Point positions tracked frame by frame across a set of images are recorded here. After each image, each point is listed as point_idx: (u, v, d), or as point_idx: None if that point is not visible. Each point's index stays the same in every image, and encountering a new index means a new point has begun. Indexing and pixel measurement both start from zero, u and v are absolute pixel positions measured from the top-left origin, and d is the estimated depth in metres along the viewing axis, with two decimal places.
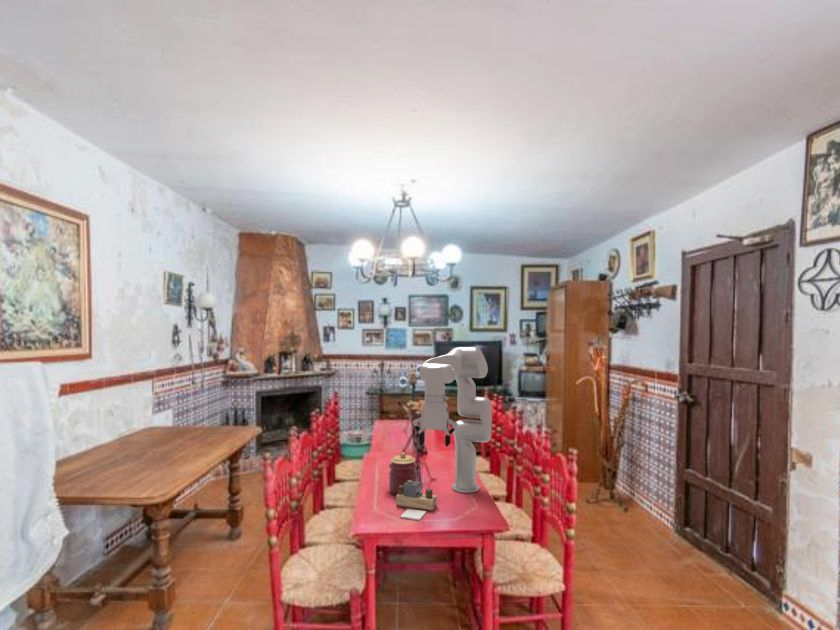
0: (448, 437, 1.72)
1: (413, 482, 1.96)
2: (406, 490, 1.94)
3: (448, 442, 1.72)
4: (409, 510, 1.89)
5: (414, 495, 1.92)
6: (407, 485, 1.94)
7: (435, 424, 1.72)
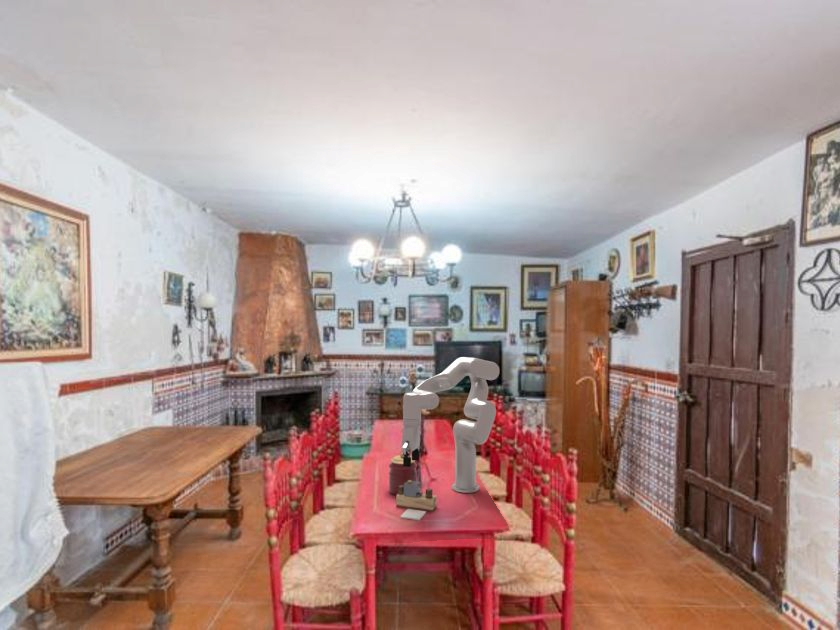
0: None
1: (413, 482, 1.96)
2: (406, 490, 1.94)
3: None
4: (409, 510, 1.89)
5: (414, 495, 1.92)
6: (407, 485, 1.94)
7: (417, 444, 1.96)
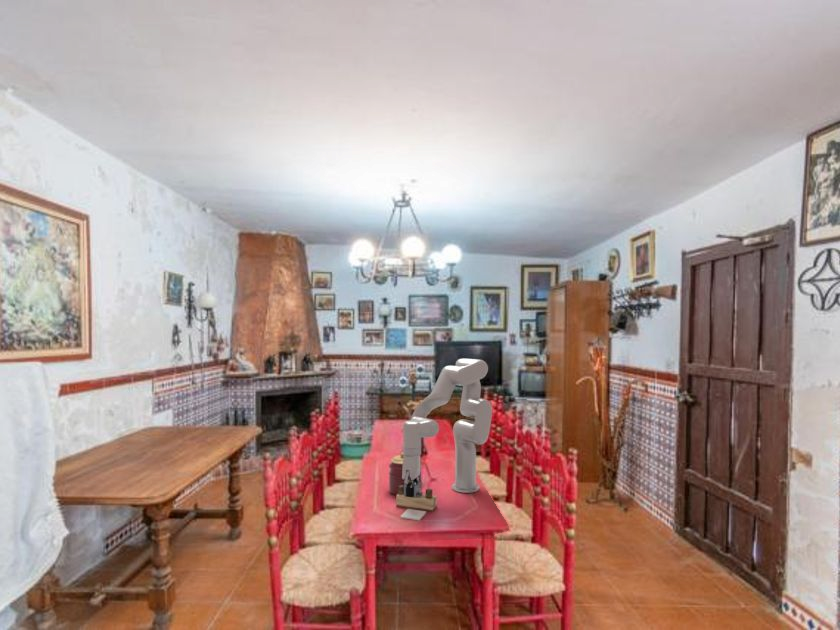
0: None
1: (413, 482, 1.96)
2: None
3: None
4: (409, 510, 1.89)
5: (414, 495, 1.92)
6: None
7: (417, 472, 1.96)
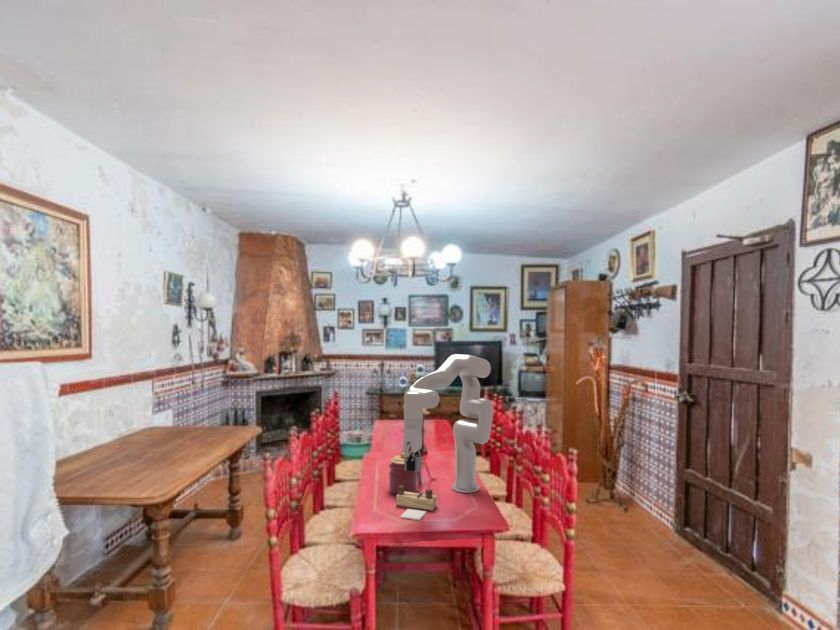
0: None
1: (414, 456, 1.86)
2: None
3: None
4: (409, 510, 1.89)
5: (415, 469, 1.83)
6: None
7: (419, 445, 1.86)
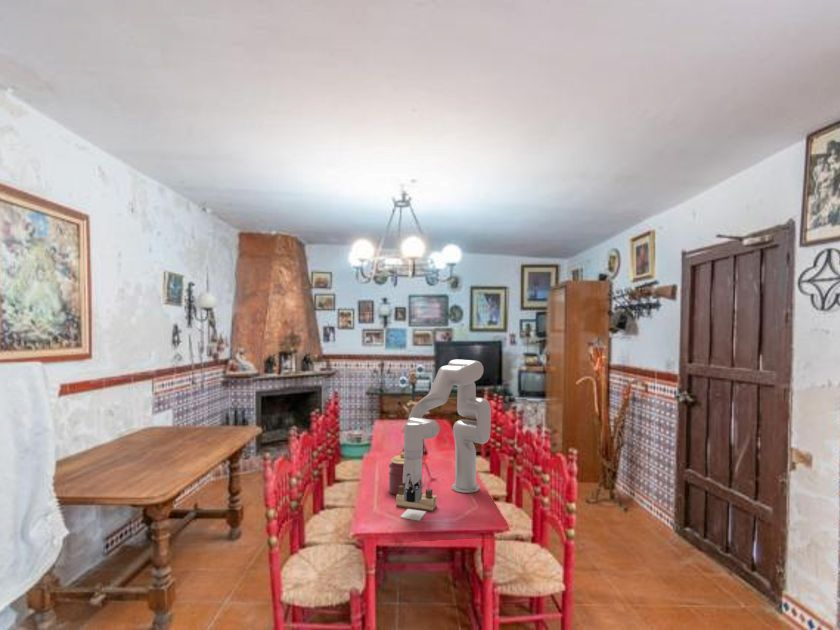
0: None
1: (414, 486, 1.86)
2: None
3: None
4: (409, 510, 1.89)
5: (415, 500, 1.82)
6: None
7: (419, 476, 1.86)
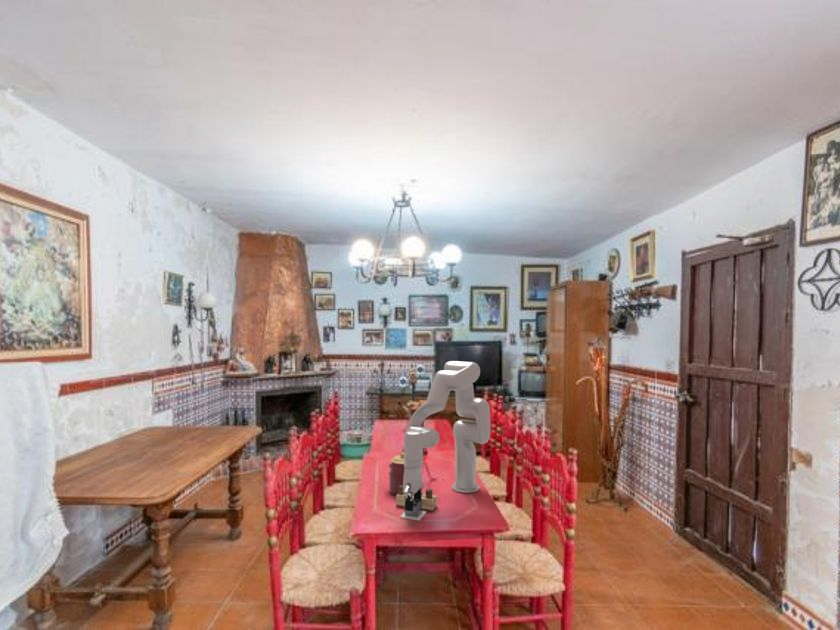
0: None
1: (414, 500, 1.86)
2: None
3: None
4: None
5: (415, 514, 1.83)
6: None
7: (419, 485, 1.86)
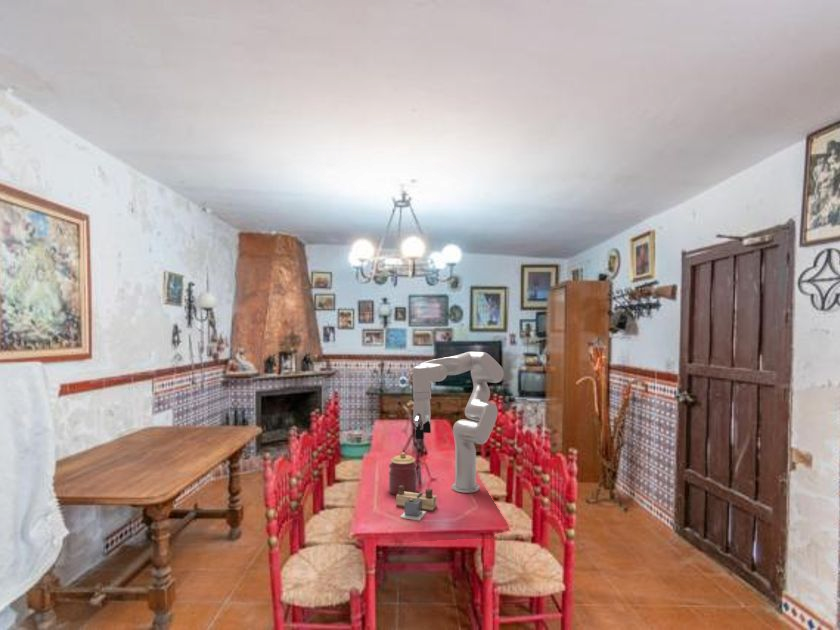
0: None
1: (414, 500, 1.86)
2: (407, 509, 1.84)
3: None
4: None
5: (415, 514, 1.83)
6: (408, 503, 1.84)
7: (428, 416, 1.96)
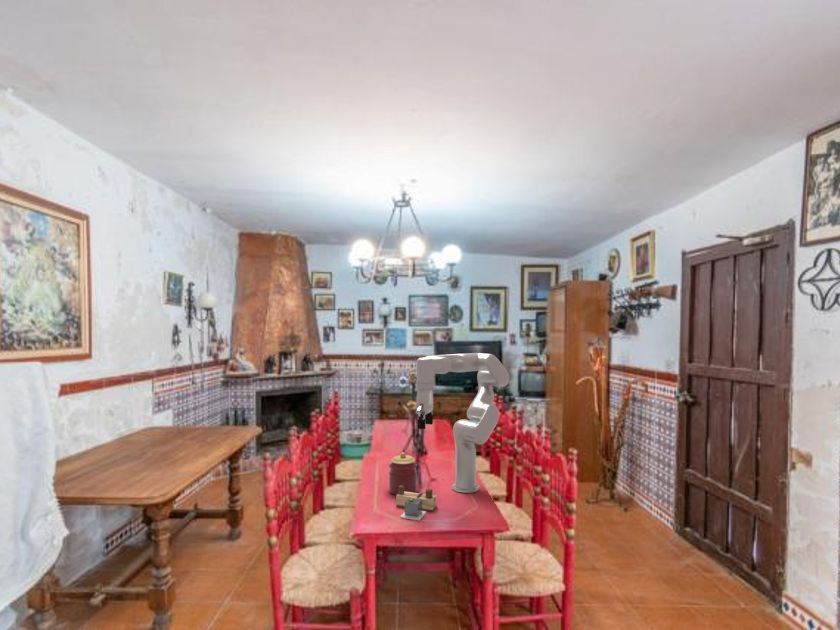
0: None
1: (414, 500, 1.86)
2: (407, 509, 1.84)
3: None
4: None
5: (415, 514, 1.83)
6: (408, 503, 1.84)
7: (431, 407, 2.00)
